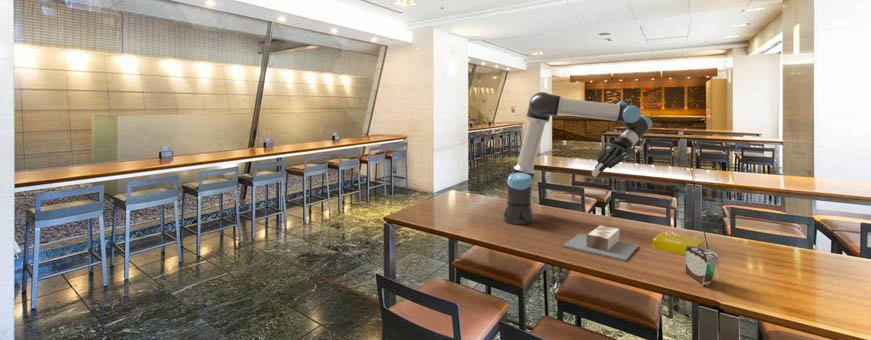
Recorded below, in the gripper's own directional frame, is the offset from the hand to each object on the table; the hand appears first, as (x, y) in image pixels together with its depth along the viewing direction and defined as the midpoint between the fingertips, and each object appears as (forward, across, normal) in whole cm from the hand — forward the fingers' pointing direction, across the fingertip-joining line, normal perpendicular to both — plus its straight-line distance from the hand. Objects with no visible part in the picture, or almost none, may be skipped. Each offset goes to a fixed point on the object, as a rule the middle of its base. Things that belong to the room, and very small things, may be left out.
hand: (593, 174), depth 184 cm
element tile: (+7, -42, -16) cm, 46 cm away
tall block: (+19, -22, -7) cm, 29 cm away
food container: (+21, -62, +3) cm, 66 cm away
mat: (+28, -26, -2) cm, 38 cm away
